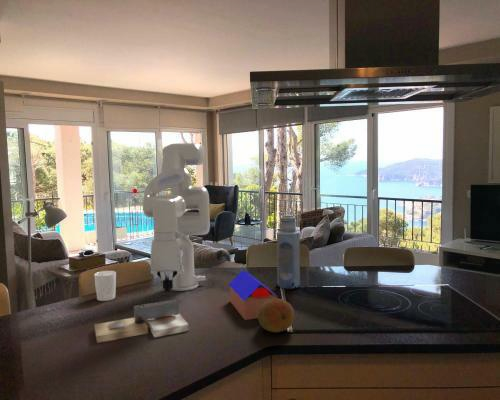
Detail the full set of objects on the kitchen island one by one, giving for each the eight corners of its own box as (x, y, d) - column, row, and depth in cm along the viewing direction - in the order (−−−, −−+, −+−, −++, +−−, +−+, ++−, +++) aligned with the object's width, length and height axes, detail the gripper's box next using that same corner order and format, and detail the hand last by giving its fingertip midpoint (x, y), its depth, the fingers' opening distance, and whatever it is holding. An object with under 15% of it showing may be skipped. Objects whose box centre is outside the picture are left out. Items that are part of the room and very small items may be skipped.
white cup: (91, 300, 152) (89, 274, 151) (107, 294, 159) (105, 269, 158) (105, 302, 148) (104, 276, 147) (121, 296, 155) (120, 271, 154)
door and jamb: (173, 312, 136) (173, 305, 136) (188, 330, 120) (188, 322, 120) (93, 326, 125) (93, 318, 125) (98, 348, 109) (97, 339, 109)
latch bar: (135, 323, 120) (134, 308, 120) (134, 320, 123) (133, 305, 123) (178, 316, 126) (178, 302, 125) (176, 313, 129) (176, 299, 128)
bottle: (274, 287, 163) (273, 216, 161) (281, 281, 172) (280, 213, 170) (296, 289, 159) (295, 216, 157) (302, 283, 169) (301, 213, 166)
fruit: (266, 341, 111) (265, 307, 111) (249, 326, 123) (248, 295, 122) (301, 334, 116) (301, 301, 115) (281, 319, 128) (281, 289, 127)
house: (259, 298, 150) (258, 268, 150) (278, 316, 131) (278, 282, 131) (229, 301, 147) (228, 271, 146) (244, 320, 128) (243, 285, 127)
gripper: (190, 233, 131) (192, 286, 133) (145, 234, 131) (147, 287, 133) (187, 238, 124) (189, 294, 126) (139, 239, 123) (142, 295, 125)
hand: (168, 290), depth 129 cm, fingers closed
